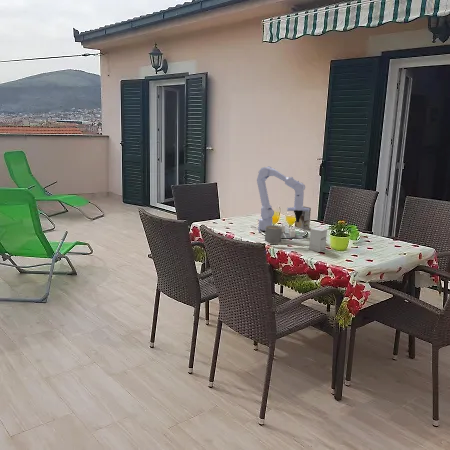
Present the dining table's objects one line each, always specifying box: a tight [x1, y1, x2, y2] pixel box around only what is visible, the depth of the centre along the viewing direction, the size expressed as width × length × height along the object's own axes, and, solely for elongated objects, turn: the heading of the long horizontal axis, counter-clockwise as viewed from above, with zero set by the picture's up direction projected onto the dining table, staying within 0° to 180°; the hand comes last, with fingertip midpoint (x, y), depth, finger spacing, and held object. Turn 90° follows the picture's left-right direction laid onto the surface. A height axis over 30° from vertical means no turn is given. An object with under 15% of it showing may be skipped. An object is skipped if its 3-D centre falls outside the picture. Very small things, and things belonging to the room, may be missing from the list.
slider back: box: [279, 224, 286, 232], centre depth 310 cm, size 3×3×4 cm
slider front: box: [290, 229, 296, 237], centre depth 296 cm, size 3×3×4 cm
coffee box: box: [294, 205, 312, 230], centre depth 325 cm, size 9×6×16 cm
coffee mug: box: [264, 224, 282, 246], centre depth 286 cm, size 13×10×10 cm
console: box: [281, 230, 304, 240], centre depth 303 cm, size 15×20×2 cm
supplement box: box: [308, 227, 328, 253], centre depth 273 cm, size 7×7×13 cm
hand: (297, 221), depth 304 cm, fingers closed
